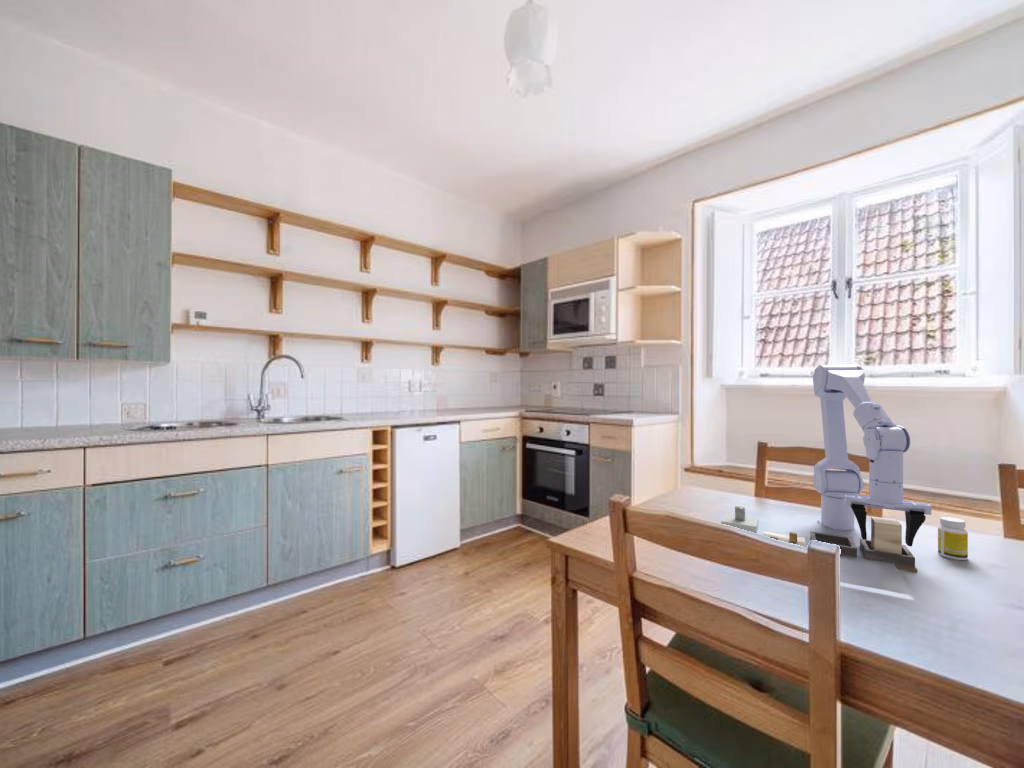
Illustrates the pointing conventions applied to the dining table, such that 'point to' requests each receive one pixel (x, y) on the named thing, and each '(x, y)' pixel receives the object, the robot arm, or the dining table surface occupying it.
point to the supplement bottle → (952, 538)
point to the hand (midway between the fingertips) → (885, 541)
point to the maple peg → (886, 535)
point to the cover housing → (741, 520)
